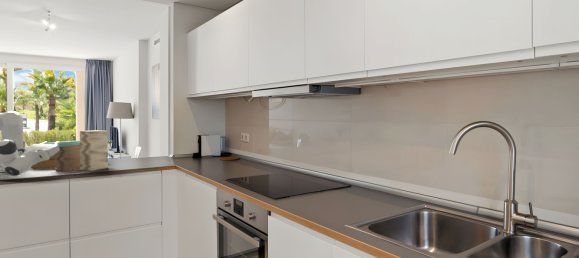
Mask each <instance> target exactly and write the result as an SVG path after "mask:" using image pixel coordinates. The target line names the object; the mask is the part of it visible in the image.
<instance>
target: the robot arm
mask: <svg viewBox="0 0 579 258" xmlns="http://www.w3.org/2000/svg"><path fill="white" fill-rule="evenodd" d="M0 133H1V139H0V173H6V174H8V175H10V176H14V177H15V176H16V177H17V176H19V175H22V174H24V173H25V172H26V171H29V170H30V169H32V168H31V167H32V165H34V164H36V163H38V162H41V161H45V160H48V159H50V157H51V156H53V155H54V154H56V153H57V152H58V151H59V150H60V148H59V146H58V145H59V144H60V142H61V141H55V142H56V143H55V144H54V145H48V144H45V143H49V142H48V140H47V141H43V142H41V143H32V144H30V145H29V146H27V148H26V149H25V147H24V146H25V145H24V116H23V115H22V114H21V113H20V112H18V111H15V110H14V111H13V110H8V111H5V112H0Z"/></svg>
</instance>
